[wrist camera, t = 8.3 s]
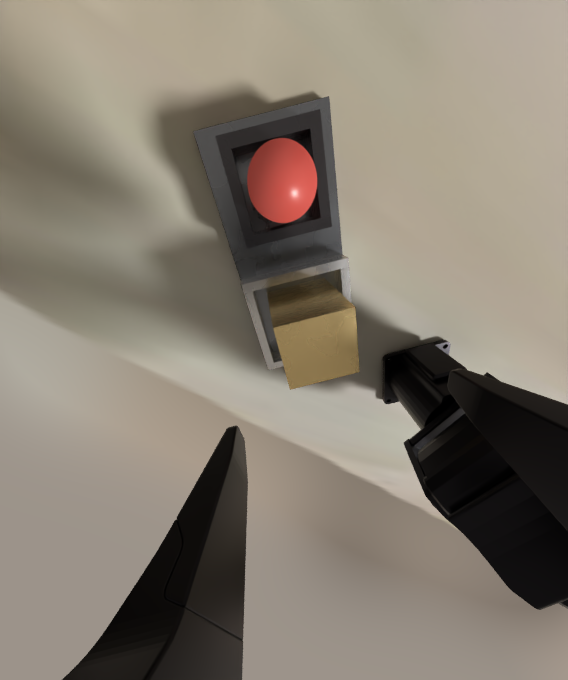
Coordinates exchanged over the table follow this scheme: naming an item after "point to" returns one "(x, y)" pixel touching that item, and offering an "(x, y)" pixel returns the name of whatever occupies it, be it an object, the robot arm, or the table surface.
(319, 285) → the billet
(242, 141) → the ball holder tray
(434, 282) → the table surface
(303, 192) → the red rounded part
